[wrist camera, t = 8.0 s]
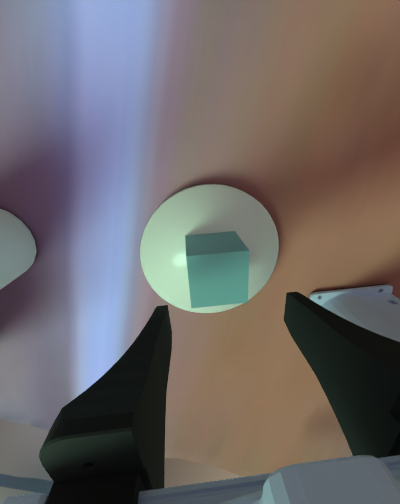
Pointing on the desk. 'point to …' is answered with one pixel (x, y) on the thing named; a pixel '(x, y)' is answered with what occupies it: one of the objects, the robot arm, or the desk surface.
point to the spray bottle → (14, 248)
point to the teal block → (217, 269)
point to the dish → (203, 222)
